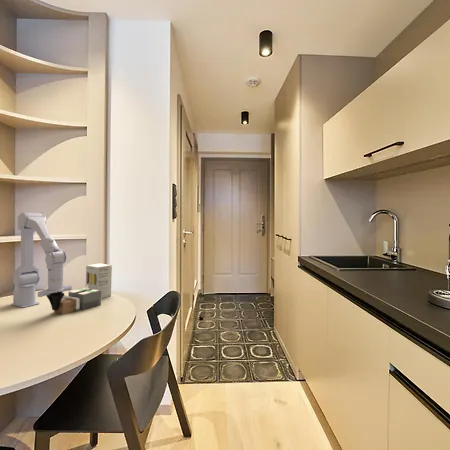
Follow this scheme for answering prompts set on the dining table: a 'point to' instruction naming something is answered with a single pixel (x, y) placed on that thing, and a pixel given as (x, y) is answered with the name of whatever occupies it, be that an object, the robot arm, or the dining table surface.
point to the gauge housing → (87, 297)
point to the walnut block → (65, 306)
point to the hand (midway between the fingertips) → (55, 309)
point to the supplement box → (99, 278)
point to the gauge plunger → (75, 299)
